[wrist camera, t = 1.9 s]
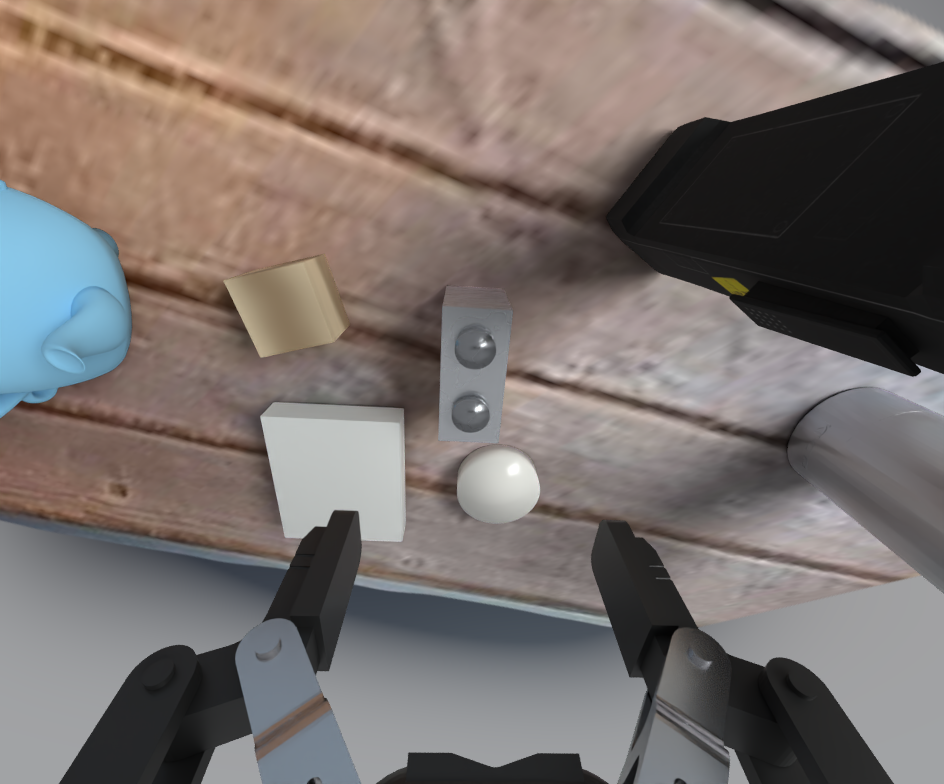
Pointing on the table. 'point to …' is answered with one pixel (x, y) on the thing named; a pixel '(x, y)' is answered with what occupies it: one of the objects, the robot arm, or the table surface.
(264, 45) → the table surface
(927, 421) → the robot arm
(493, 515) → the glossy white pebble
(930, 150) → the portable radio
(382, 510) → the stand
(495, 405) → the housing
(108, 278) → the teapot
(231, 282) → the oak block
